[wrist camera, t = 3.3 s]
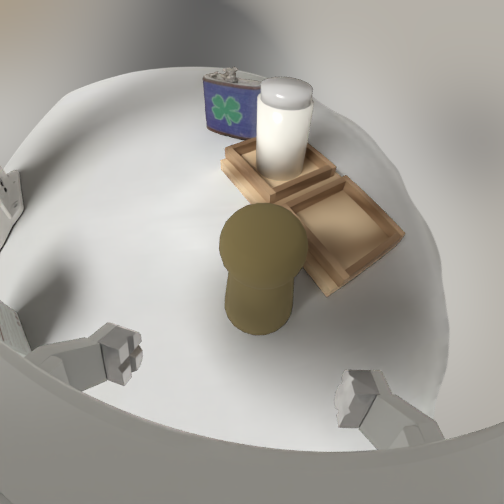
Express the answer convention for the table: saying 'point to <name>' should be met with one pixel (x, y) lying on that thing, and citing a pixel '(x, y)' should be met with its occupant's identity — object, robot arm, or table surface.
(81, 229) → the table surface
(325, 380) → the table surface
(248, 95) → the flask
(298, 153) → the salt shaker
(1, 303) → the supplement box
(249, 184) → the caddy
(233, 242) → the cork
